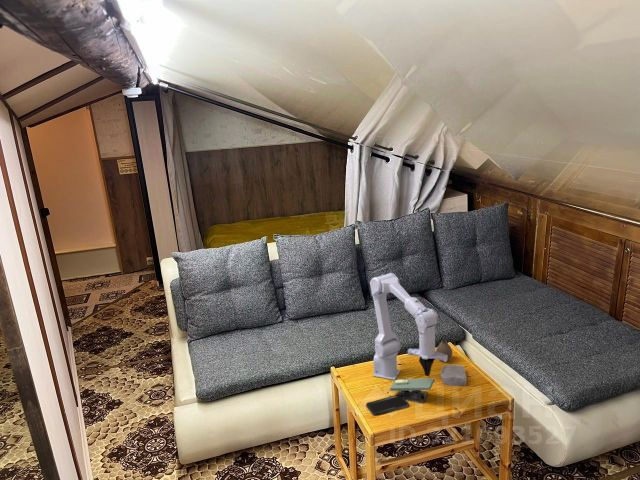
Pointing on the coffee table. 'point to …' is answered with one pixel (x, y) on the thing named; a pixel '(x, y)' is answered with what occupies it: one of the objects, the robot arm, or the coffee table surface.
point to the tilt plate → (412, 384)
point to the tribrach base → (413, 395)
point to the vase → (445, 350)
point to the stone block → (453, 375)
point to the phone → (386, 405)
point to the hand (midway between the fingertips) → (427, 374)
